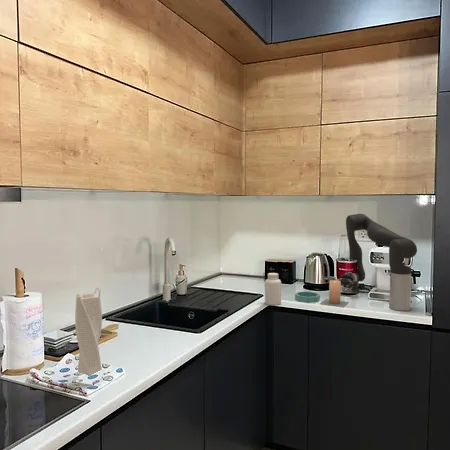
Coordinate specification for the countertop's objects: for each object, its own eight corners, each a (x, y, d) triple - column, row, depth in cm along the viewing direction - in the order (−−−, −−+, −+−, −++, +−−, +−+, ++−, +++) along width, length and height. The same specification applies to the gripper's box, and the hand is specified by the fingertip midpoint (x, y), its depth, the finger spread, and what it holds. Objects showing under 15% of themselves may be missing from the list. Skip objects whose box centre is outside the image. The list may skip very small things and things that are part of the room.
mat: (349, 303, 217) (349, 301, 217) (343, 308, 207) (343, 307, 207) (326, 300, 223) (326, 298, 223) (319, 305, 213) (319, 304, 213)
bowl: (322, 299, 224) (322, 293, 224) (314, 304, 214) (315, 298, 214) (300, 296, 230) (300, 290, 230) (292, 301, 220) (292, 295, 220)
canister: (341, 302, 216) (342, 280, 215) (338, 305, 211) (339, 282, 210) (330, 301, 219) (331, 279, 218) (327, 303, 214) (328, 281, 213)
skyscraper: (110, 377, 131) (108, 285, 129) (95, 388, 123) (93, 291, 121) (85, 374, 133) (83, 284, 131) (69, 385, 125) (67, 289, 123)
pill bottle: (261, 303, 216) (261, 273, 215) (271, 300, 222) (272, 271, 221) (274, 306, 211) (274, 275, 210) (284, 303, 216) (284, 273, 215)
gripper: (335, 271, 241) (327, 276, 227) (362, 274, 234) (354, 279, 220) (335, 285, 242) (326, 290, 228) (361, 288, 235) (354, 294, 221)
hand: (340, 285), depth 224 cm, fingers open, 8 cm apart
